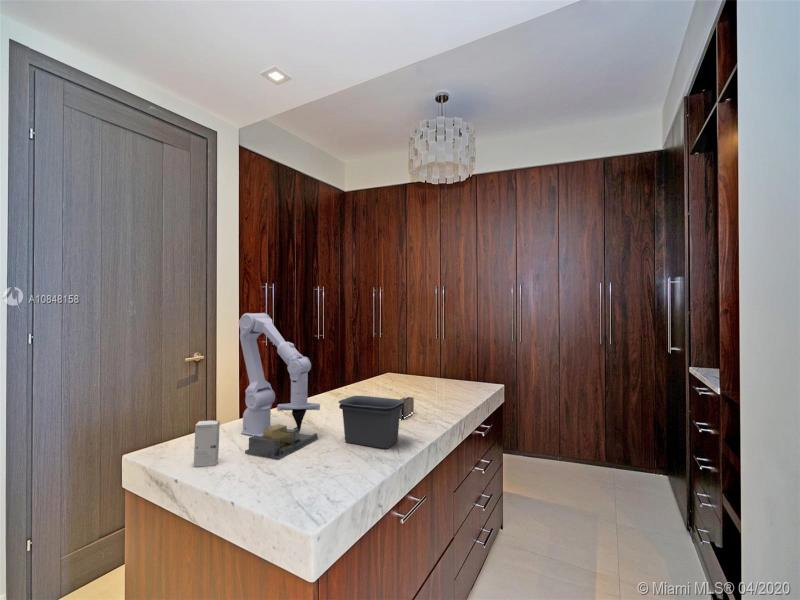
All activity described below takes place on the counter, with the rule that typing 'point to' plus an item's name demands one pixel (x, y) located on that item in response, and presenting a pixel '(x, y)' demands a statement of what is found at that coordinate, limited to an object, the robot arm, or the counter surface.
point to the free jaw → (293, 435)
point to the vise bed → (276, 446)
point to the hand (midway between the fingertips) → (298, 430)
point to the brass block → (276, 433)
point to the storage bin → (371, 420)
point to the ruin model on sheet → (407, 407)
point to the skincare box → (206, 443)
